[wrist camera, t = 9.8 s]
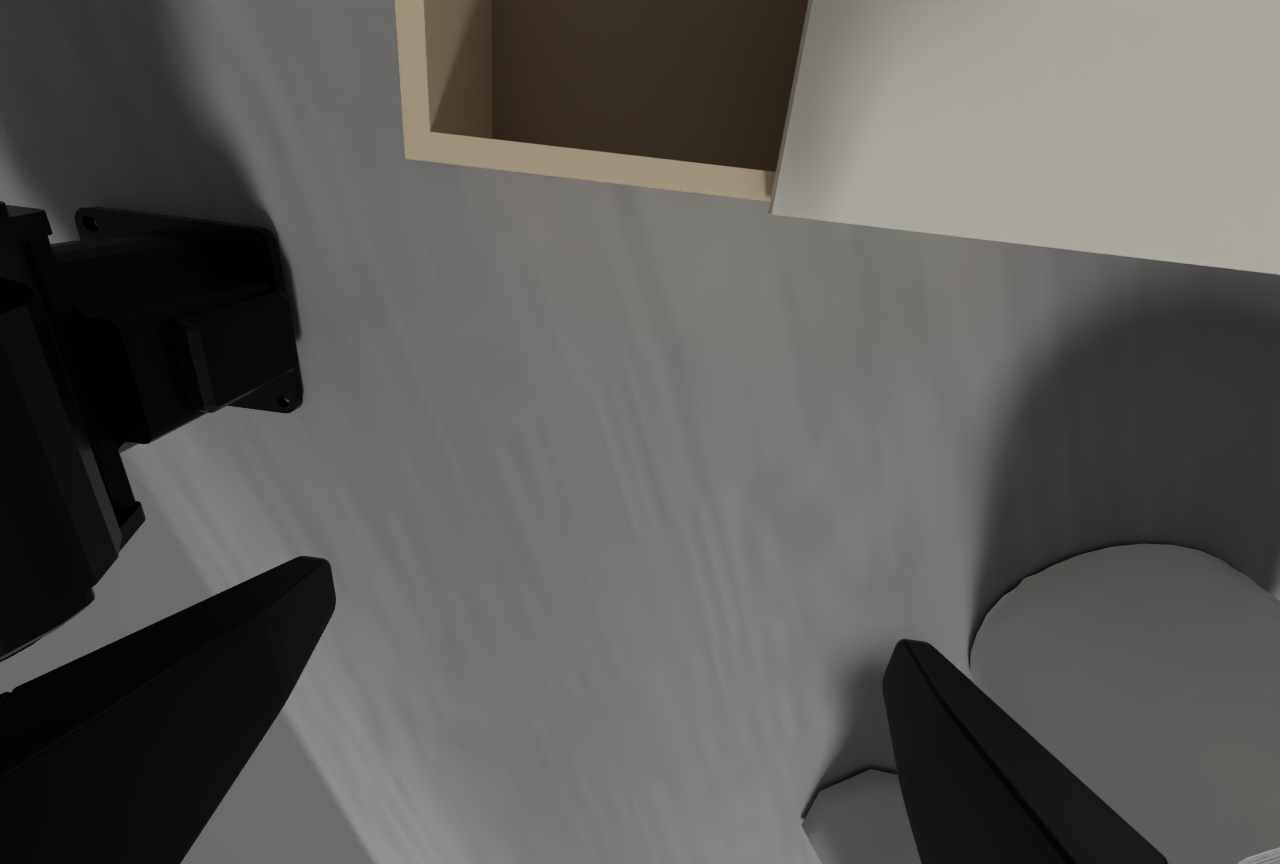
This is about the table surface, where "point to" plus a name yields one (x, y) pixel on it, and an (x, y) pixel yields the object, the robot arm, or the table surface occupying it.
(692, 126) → the carton
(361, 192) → the table surface
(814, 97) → the carton lid
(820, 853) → the flask
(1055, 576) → the toilet tissue
